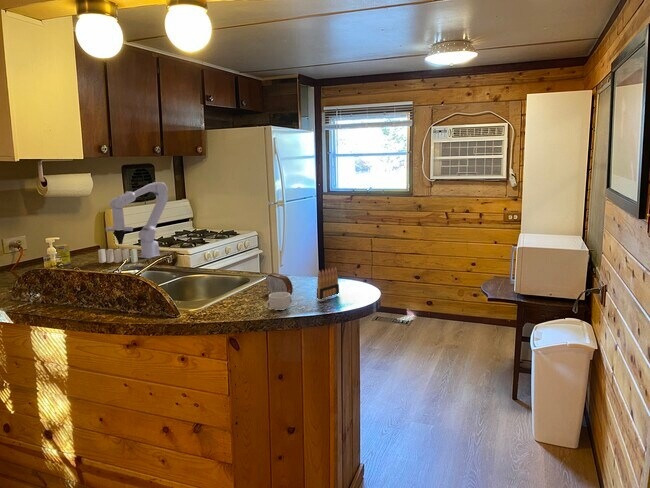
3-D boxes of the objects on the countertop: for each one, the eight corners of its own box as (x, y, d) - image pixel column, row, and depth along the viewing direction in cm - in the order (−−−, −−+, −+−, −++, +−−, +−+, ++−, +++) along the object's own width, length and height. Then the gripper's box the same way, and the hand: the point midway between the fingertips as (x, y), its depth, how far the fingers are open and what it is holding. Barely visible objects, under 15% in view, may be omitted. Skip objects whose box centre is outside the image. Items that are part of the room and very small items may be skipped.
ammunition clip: (320, 302, 183) (319, 271, 181) (316, 301, 184) (315, 270, 182) (339, 296, 191) (338, 266, 189) (335, 295, 192) (335, 265, 190)
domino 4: (123, 262, 268) (122, 250, 267) (127, 261, 273) (125, 248, 271) (126, 262, 268) (125, 250, 267) (129, 261, 273) (128, 248, 271)
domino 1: (99, 262, 269) (98, 250, 268) (103, 261, 273) (102, 248, 272) (102, 262, 269) (100, 250, 268) (106, 261, 273) (105, 248, 272)
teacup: (281, 305, 181) (280, 290, 180) (295, 308, 175) (294, 294, 174) (259, 311, 173) (259, 296, 173) (274, 315, 168) (273, 300, 167)
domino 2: (107, 262, 269) (106, 250, 267) (111, 261, 273) (110, 248, 272) (110, 262, 268) (108, 250, 267) (114, 261, 273) (112, 248, 272)
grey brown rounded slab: (293, 298, 190) (293, 277, 188) (287, 299, 187) (286, 278, 186) (271, 291, 201) (270, 271, 199) (264, 292, 199) (264, 272, 197)
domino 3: (115, 262, 268) (114, 250, 267) (119, 261, 273) (118, 248, 272) (118, 262, 268) (116, 250, 267) (121, 261, 273) (120, 248, 272)
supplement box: (59, 266, 260) (57, 246, 259) (54, 265, 264) (52, 245, 262) (71, 264, 265) (69, 244, 263) (65, 263, 269) (63, 244, 267)
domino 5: (131, 262, 268) (130, 250, 267) (134, 261, 272) (133, 248, 271) (134, 262, 268) (133, 250, 267) (137, 260, 272) (136, 248, 271)
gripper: (102, 220, 267) (104, 245, 269) (128, 220, 266) (130, 244, 269) (108, 219, 274) (110, 243, 276) (133, 218, 273) (135, 242, 276)
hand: (120, 243), depth 273 cm, fingers closed
